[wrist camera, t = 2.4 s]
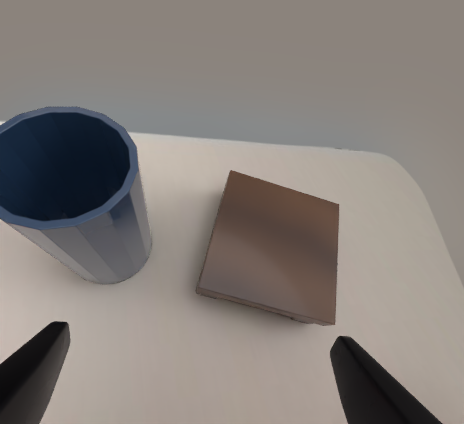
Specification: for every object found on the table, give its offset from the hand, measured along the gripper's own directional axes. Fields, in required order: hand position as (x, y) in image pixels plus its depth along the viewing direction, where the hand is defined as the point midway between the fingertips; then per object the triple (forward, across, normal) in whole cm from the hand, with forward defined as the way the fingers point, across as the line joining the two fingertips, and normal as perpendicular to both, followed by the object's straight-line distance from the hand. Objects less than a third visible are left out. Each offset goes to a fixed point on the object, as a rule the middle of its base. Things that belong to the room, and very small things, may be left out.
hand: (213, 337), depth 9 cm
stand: (+15, -7, +7) cm, 18 cm away
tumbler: (+14, +7, +7) cm, 18 cm away
